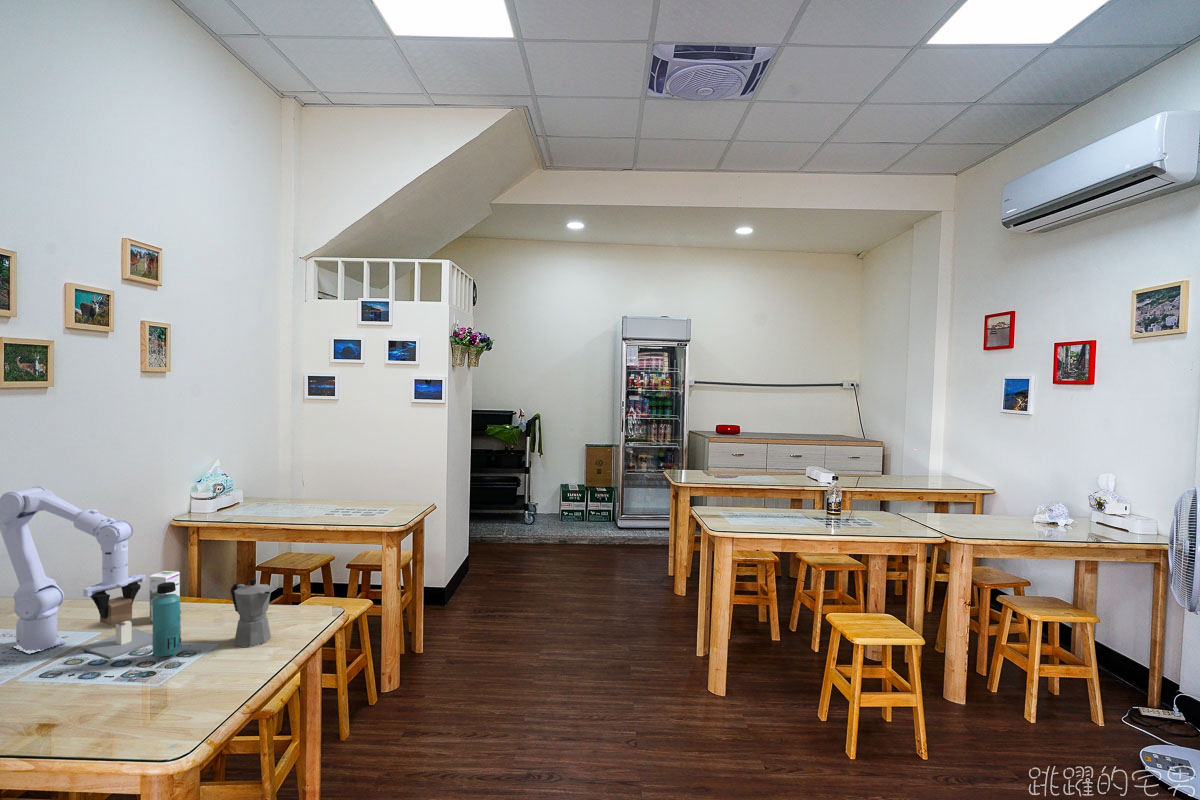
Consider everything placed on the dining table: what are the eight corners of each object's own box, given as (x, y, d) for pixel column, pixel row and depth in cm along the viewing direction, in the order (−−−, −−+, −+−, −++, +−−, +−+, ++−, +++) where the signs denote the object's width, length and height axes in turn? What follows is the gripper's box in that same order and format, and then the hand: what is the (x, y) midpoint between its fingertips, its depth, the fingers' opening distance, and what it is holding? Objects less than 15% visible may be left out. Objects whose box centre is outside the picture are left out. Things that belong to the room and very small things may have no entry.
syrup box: (180, 616, 195) (180, 570, 194) (165, 623, 189) (165, 576, 189) (163, 615, 195) (163, 569, 195) (148, 622, 190) (148, 575, 189)
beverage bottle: (166, 663, 163) (166, 588, 162) (145, 660, 164) (145, 586, 164) (187, 653, 169) (187, 580, 169) (167, 650, 171) (167, 578, 170)
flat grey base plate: (80, 648, 171) (80, 627, 171) (135, 630, 184) (135, 610, 183) (110, 658, 165) (110, 636, 165) (165, 639, 178) (165, 618, 178)
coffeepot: (283, 638, 180) (283, 577, 179) (254, 651, 171) (254, 587, 170) (246, 629, 186) (246, 570, 185) (216, 641, 177) (216, 579, 177)
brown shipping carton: (100, 622, 171) (100, 602, 171) (121, 615, 176) (120, 596, 176) (111, 625, 169) (111, 605, 169) (132, 619, 174) (132, 599, 174)
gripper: (93, 575, 164) (94, 625, 164) (152, 560, 177) (152, 607, 178) (78, 571, 167) (78, 621, 167) (137, 557, 180) (137, 604, 180)
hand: (115, 614), depth 173 cm, fingers closed on brown shipping carton, 5 cm apart
